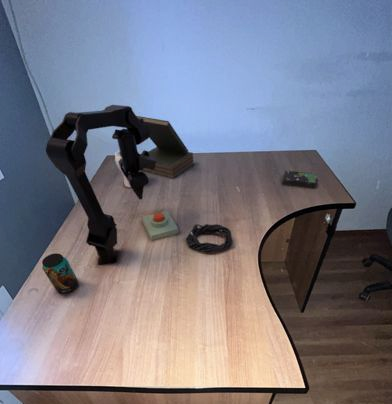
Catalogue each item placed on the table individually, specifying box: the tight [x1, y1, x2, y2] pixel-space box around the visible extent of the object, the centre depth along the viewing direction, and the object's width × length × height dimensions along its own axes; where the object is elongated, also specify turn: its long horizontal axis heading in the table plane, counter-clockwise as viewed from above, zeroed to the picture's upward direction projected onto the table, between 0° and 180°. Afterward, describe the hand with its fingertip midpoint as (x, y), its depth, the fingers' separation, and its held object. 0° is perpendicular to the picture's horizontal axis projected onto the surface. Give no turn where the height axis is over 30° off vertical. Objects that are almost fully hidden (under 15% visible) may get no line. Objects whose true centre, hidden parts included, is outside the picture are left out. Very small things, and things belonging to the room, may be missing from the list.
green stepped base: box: [141, 210, 180, 241], centre depth 105 cm, size 14×11×4 cm
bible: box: [136, 115, 194, 179], centre depth 136 cm, size 23×20×25 cm
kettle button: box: [153, 212, 164, 222], centre depth 103 cm, size 4×4×2 cm
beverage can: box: [41, 252, 80, 295], centre depth 81 cm, size 7×7×12 cm
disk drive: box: [281, 170, 317, 189], centre depth 128 cm, size 10×3×15 cm
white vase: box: [114, 149, 131, 188], centre depth 127 cm, size 11×11×15 cm
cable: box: [185, 223, 233, 254], centre depth 97 cm, size 17×14×4 cm
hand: (137, 193), depth 100 cm, fingers open, 9 cm apart
